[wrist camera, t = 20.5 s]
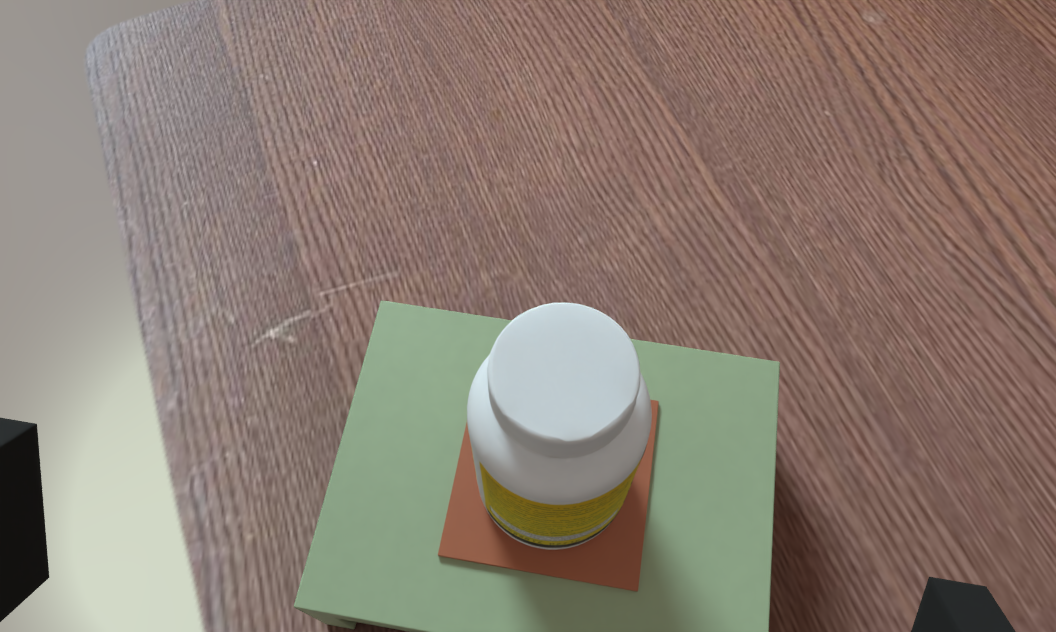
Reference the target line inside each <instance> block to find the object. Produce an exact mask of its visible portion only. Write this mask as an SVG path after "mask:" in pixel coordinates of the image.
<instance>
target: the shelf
mask: <svg viewBox="0 0 1056 632" xmlns="http://www.w3.org/2000/svg"><path fill="white" fill-rule="evenodd" d="M510 322H511V320H505V319H498V318H492V317H485V316H479V315H472V314H466V313H459V312H453V311H446V310H440V309H434V308H427V307H421V306H414V305H408V304H401V303H395V302H388V301H381V302H380V306H379V309H378V313H377V316H376V320H375V323H374V327H373V330H372V334H371V337H370V341H369V344H368V348H367V351H366V355H365V358H364V362H363V365H362V369H361V372H360V376H359V379H358V383H357V386H356V390H355V393H354V397H353V400H352V404H351V407H350V411H349V414H348V418H347V421H346V425H345V428H344V432H343V435H342V439H341V443H340V446H339V450H338V453H337V457H336V460H335V464H334V467H333V471H332V474H331V478H330V481H329V485H328V488H327V492H326V495H325V499H324V502H323V506H322V509H321V513H320V516H319V520H318V523H317V527H316V530H315V534H314V537H313V541H312V544H311V548H310V551H309V555H308V558H307V562H306V565H305V569H304V572H303V576H302V579H301V583H300V586H299V590H298V593H297V597H296V600H295V604H294V607H295V608H296V609H298V610H300V611H302V612H304V613H306V614H308V615H310V616H312V617H314V618H316V619H318V620H320V621H321V622H323V623H325V624H328V625H333V626H339V627H344V628H349V629H354V628H355V626H356V622H360V623H365V624H370V625H376V626H381V627H387V628H392V629H397V630H403V631H408V632H769V612H770V588H771V564H772V539H773V515H774V491H775V467H776V442H777V418H778V394H779V370H780V363H779V362H776V361H769V360H763V359H756V358H750V357H744V356H737V355H731V354H724V353H718V352H711V351H705V350H698V349H692V348H685V347H679V346H672V345H666V344H660V343H653V342H647V341H640V340H634V339H630V340H631V341H632V343H633V345H634V348H635V350H636V353H637V355H638V359H639V364H640V372H641V374H642V376H643V378H644V380H645V383H646V385H647V389H648V392H649V396H650V401H651V410H652V421H651V429H650V434H649V438H648V442H647V446H646V449H645V452H644V455H643V457H642V460H641V462H640V464H639V466H638V469H637V471H636V473H635V476H634V478H633V481H632V484H631V486H630V488H629V491H628V493H627V496H626V498H625V501H624V503H623V505H622V507H621V509H620V511H619V512H618V514H617V516H616V517H615V518H614V520H613V521H612V522H611V523H610V524H609V525H608V527H607V528H606V529H604V530H603V531H602V532H601V533H600V534H598V535H597V536H596V537H594V538H593V539H591V540H589V541H587V542H585V543H583V544H580V545H578V546H575V547H571V548H566V549H558V550H548V549H540V548H535V547H531V546H528V545H526V544H523V543H521V542H519V541H517V540H515V539H513V538H512V537H510V536H509V535H508V534H506V533H505V532H504V531H503V530H502V529H501V528H500V527H499V526H498V525H497V524H496V523H495V522H494V521H493V519H492V518H491V517H490V515H489V514H488V512H487V510H486V508H485V506H484V504H483V502H482V499H481V496H480V492H479V487H478V483H477V478H476V472H475V466H474V460H473V453H472V448H471V442H470V437H469V433H468V427H467V403H468V396H469V391H470V388H471V385H472V382H473V379H474V377H475V375H476V373H477V371H478V369H479V368H480V366H481V365H482V363H483V362H484V360H485V359H486V358H487V357H488V356H489V355H490V352H491V350H492V347H493V345H494V343H495V341H496V339H497V337H498V336H499V335H500V333H501V332H502V330H503V329H504V328H505V327H506V326H507V325H508V324H509V323H510Z"/></svg>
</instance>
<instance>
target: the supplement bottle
mask: <svg viewBox="0 0 1056 632" xmlns="http://www.w3.org/2000/svg"><path fill="white" fill-rule="evenodd" d="M651 421H652V410H651V401H650V396H649V392H648V389H647V385H646V383H645V380H644V378H643V376H642V374H641V372H640V364H639V359H638V355H637V353H636V350H635V348H634V345H633V343H632V341H631V340H630V338H629V336H628V335H627V334H626V332H625V331H624V330H623V329H622V328H621V327H620V326H619V325H618V324H617V323H616V322H615V321H614V320H612V319H611V318H610V317H608V316H607V315H605V314H603V313H602V312H600V311H598V310H596V309H593V308H591V307H588V306H584V305H581V304H575V303H550V304H545V305H541V306H538V307H535V308H532V309H530V310H528V311H526V312H524V313H522V314H520V315H519V316H517V317H516V318H515V319H513V320H512V321H511V322H510V323H509V324H508V325H507V326H506V327H505V328H504V329H503V330H502V332H501V333H500V335H499V336H498V337H497V339H496V341H495V343H494V345H493V347H492V350H491V352H490V355H489V356H488V357H487V358H486V359H485V360H484V362H483V363H482V365H481V366H480V368H479V369H478V371H477V373H476V375H475V377H474V379H473V382H472V385H471V388H470V391H469V396H468V403H467V427H468V433H469V437H470V442H471V448H472V453H473V460H474V466H475V472H476V478H477V483H478V487H479V492H480V496H481V499H482V502H483V504H484V506H485V508H486V510H487V512H488V514H489V515H490V517H491V518H492V519H493V521H494V522H495V523H496V524H497V525H498V526H499V527H500V528H501V529H502V530H503V531H504V532H505V533H506V534H508V535H509V536H510V537H512V538H513V539H515V540H517V541H519V542H521V543H523V544H526V545H528V546H531V547H535V548H540V549H548V550H558V549H566V548H571V547H575V546H578V545H580V544H583V543H585V542H587V541H589V540H591V539H593V538H594V537H596V536H597V535H598V534H600V533H601V532H602V531H603V530H604V529H606V528H607V527H608V525H609V524H610V523H611V522H612V521H613V520H614V518H615V517H616V516H617V514H618V512H619V511H620V509H621V507H622V505H623V503H624V501H625V498H626V496H627V493H628V491H629V488H630V486H631V484H632V481H633V478H634V476H635V473H636V471H637V469H638V466H639V464H640V462H641V460H642V457H643V455H644V452H645V449H646V446H647V442H648V438H649V434H650V429H651Z"/></svg>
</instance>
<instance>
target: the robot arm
mask: <svg viewBox="0 0 1056 632" xmlns="http://www.w3.org/2000/svg"><path fill="white" fill-rule="evenodd" d="M43 508H44V507H43V496H42V483H41V470H40V458H39V446H38V433H37V424H34V423H28V422H22V421H16V420H11V419H5V418H0V622H1V621H2V620H3V619H4V618H5V617H6V616H7V615H9V613H11V612H12V611H13V610H14V609H15V608H16V607H17V606H18V605H20V604H21V603H22V602H23V601H24V600H25V599H26V598H27V597H28V596H29V595H30V594H32V593H33V592H34V591H35V590H36V589H37V588H38V587H39V586H40V585H41V584H42V583H44V582H45V581H46V580H47V579H48V578H49V571H48V557H47V545H46V533H45V520H44V509H43ZM911 632H1015V630H1014V629H1013V627H1012V626H1011V624H1010V623H1009V621H1008V620H1007V618H1006V616H1005V615H1004V613H1003V612H1002V610H1001V609H1000V607H999V606H998V604H997V603H996V601H995V599H994V598H993V596H992V595H991V593H990V592H989V590H988V589H987V587H986V586H980V585H974V584H968V583H962V582H956V581H951V580H945V579H939V578H933V577H929V579H928V582H927V585H926V588H925V591H924V594H923V597H922V600H921V603H920V606H919V609H918V613H917V616H916V619H915V622H914V625H913V628H912V631H911Z"/></svg>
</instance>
